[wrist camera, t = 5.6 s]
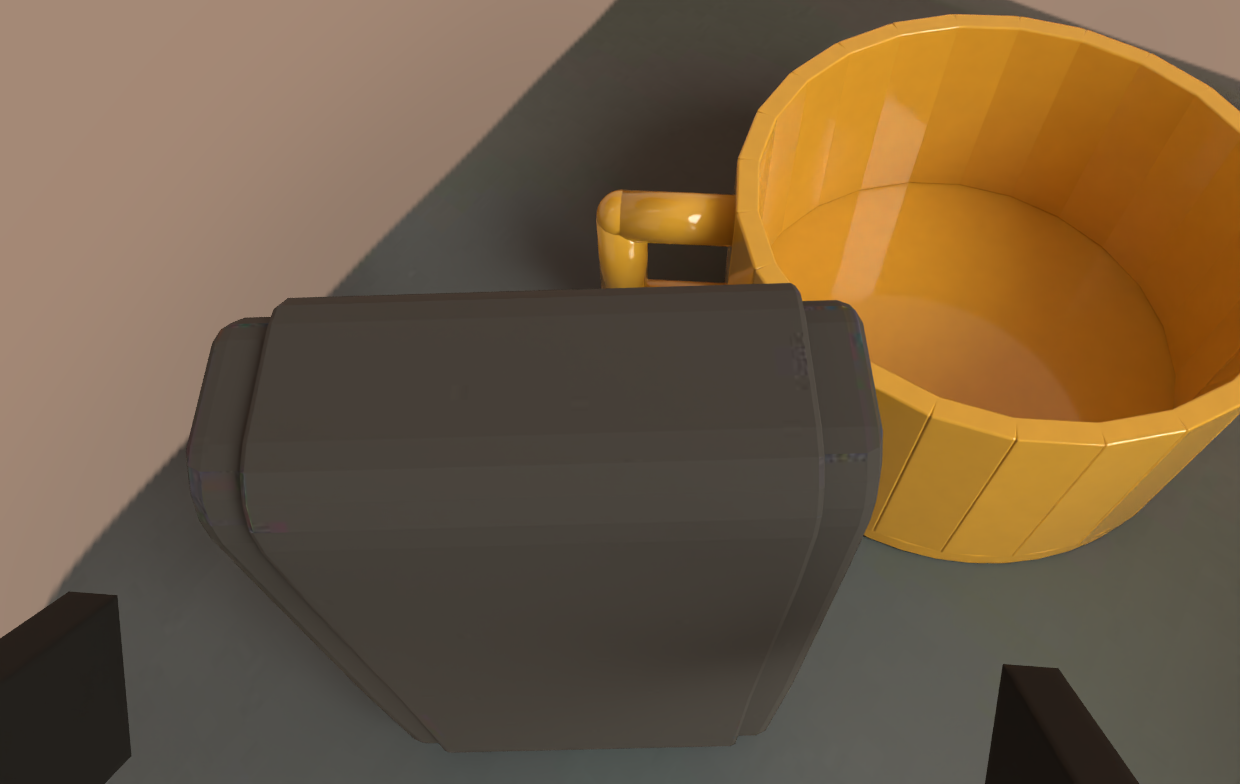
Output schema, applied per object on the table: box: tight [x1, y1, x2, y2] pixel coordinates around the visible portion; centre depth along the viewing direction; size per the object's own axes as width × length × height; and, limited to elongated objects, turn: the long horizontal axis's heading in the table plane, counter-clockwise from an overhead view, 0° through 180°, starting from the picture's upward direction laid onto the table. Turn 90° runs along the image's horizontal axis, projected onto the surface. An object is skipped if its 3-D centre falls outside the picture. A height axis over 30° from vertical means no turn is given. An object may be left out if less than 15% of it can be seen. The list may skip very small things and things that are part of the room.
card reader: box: [186, 283, 883, 752], centre depth 19 cm, size 9×4×15 cm, turn 91°
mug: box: [596, 14, 1240, 563], centre depth 28 cm, size 18×14×7 cm
